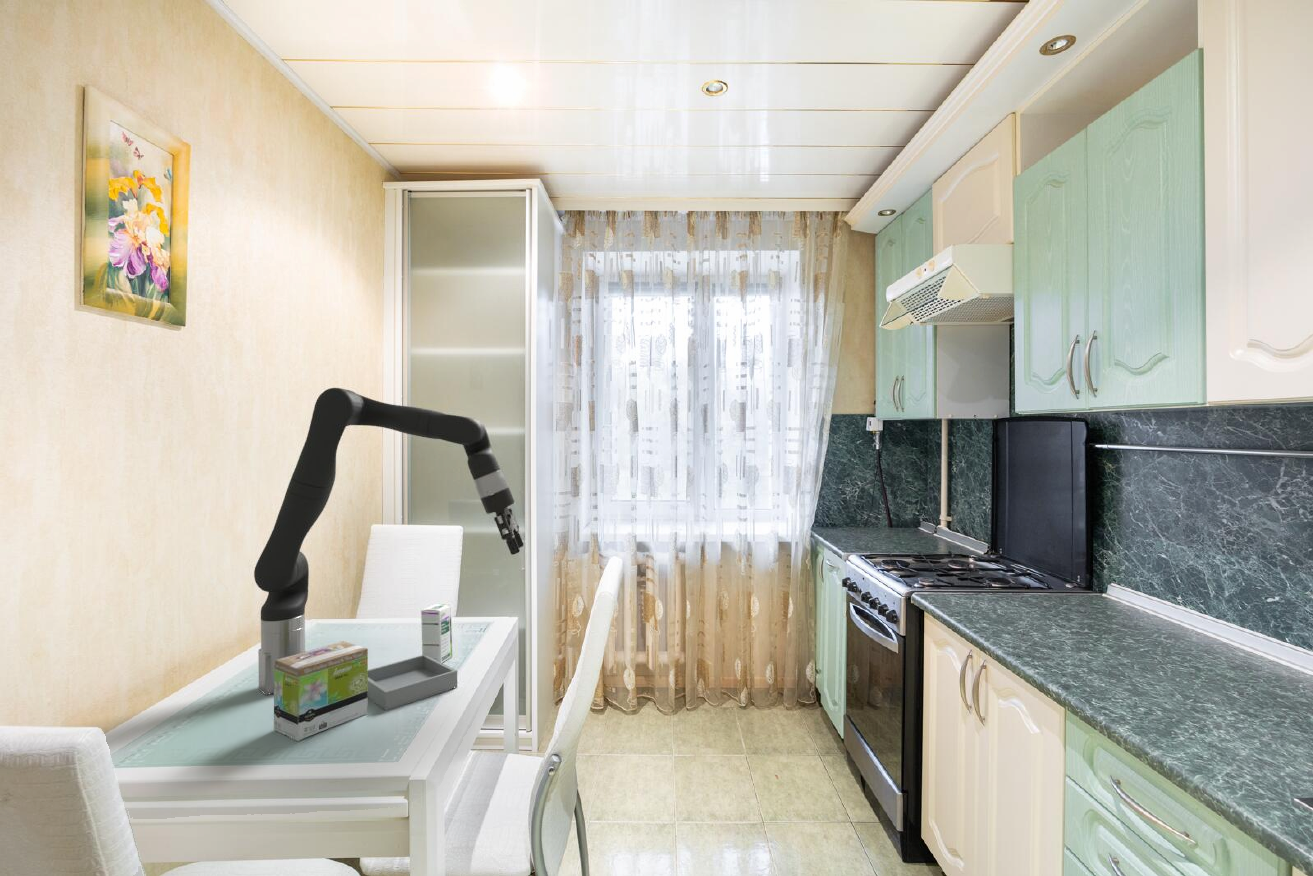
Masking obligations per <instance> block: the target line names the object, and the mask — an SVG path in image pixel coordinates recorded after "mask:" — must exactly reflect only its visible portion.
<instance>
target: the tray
mask: <svg viewBox="0 0 1313 876" xmlns="http://www.w3.org/2000/svg"><path fill="white" fill-rule="evenodd" d="M454 687H457V688H458V670H456V669H454V668H452V667H450V666H449V665H447V664H445V663H444V662H443V663H441V662H439V661H437V660H435V659H433V658H431V657H429V656H427V655H422V654H420V655H418V656H414V657H411V658H408V659H407V658H406V659H404V660H400V661H395V662H392V663H389V664H384V665H382V666H378V667H373V668H370V669H369V668H368V696H367V699H368V700H369V699H370V700H371V701H373V702H374V703H375V704H376V705H378V706H379V707H380V708H382V709H384V710H385V711H388V710H391V709H395V708H397V707H398V708H399V707H401V706H403V705H404V706H405V705H407V704H410V703H413V702H417V701H420V700H422V699H427V698H428V697H433V696H435V695H438V694H441V693H445V692H447V691H450V690H449V689H451V690H453V689H452V688H454ZM454 689H455V688H454ZM444 691H445V692H444Z"/></svg>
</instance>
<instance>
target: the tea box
mask: <svg viewBox="0 0 1313 876" xmlns="http://www.w3.org/2000/svg"><path fill="white" fill-rule="evenodd" d="M368 657H369V650H368V648H367V647H364V646H360V645H357V644H354V643H351V642H347V641H343V640H342V641H338V642H336V643H332V644H328V645H325V646H321V647H318V648H314V649H311V650H307V651H306V650H305V652H303V653H299V654H296V655H292V656H288V657H285V658H281V659H277V660H275V674H274V693H273V730H274V731H276V732H278V733H280V732H281V733H284V734H285V735H287V736H286V737H288V736H289V737H288V738H290V737H292V738H294V739H295V740H294V739H293V740H294V741H296V740H297V742H300V741H302V740H304V739H305V738H308V737H310V736H312V735H313V736H314V735H315V734H318V733H320V732H322V731H325V730H327V729H331V728H333V727H336V726H338V725H341V724H344V723H347V722H349V721H352V720H354V719H358V718H360V717H362V716H366V715H367V713H368V697H367V696H368V670H369V668H368V666H369V664H368V663H369V658H368ZM281 733H280V734H281ZM284 734H283V735H284ZM285 735H284V736H285ZM292 738H291V739H292Z"/></svg>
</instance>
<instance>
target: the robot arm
mask: <svg viewBox="0 0 1313 876" xmlns="http://www.w3.org/2000/svg"><path fill="white" fill-rule="evenodd" d="M349 426H367V427H368V426H369V427H370V426H371V427H377V428H378V427H379V428H385V429H388V430H393V431H396V432H400V433H402V434H407V435H411V436H416V437H421V438H427V439H431V440H441V441H445V442H450V443H453V444H458V445H462V447H463V449H464V452H465V454H466V456H467V465H468V470H469V471H470V474H471V477H472V480H474V481H473V482H474V485H475V488H476V489H475V490H476V491H477V494H478V496H479V498H480V501H481V505H482V507H483V509H484V511H485V513H486V514H487V515H490V514H492V513H495V515H496V516H495V517H493V518H494V521H495V524H496V527H497V529H498V531H499V533H500V537H501V539H502V541H504V542H505V543H506V545H507V547H508V550H509V552H510V554H511V555H512V556H513V555H516V554H518V553H520V552H521V549H520V548H522V547H524V541H523V539H522V537H521V534H520V526H519V524H518V523H517V522H518V521H517V520H516V518H515V515H514V513H513V509H512V508H508V507H509V506H513V505H514V504H515V498H514V497H513V494H512V492H511V489H510V487H509V484H508V483H507V482H508V481H507V479H506V478H505V475H504V474H503V472H502V470H501V467H500V465H499V463H498V461H497V458H496V456H495V454H494V452H493V449H492V444H491V440H490V438H489V435H488V432H487V429H486V427H485V425H484V424H483V422H482V421H481V420H479V419H477V418H474V417H470V416H469V417H468V416H464V415H462V416H460V415H455V414H447V413H443V412H441V411H436V410H432V409H427V408H422V407H421V408H420V407H415V406H406V405H400V404H392V403H391V404H390V403H386V402H381V401H379V400H375V399H371V398H370V397H366V396H363V395H362V394H358V393H357V392H355V391H353V390H349V389H345V388H340V387H331V388H327V389H325V390H324V391H323V392H322V393H320V394H319V395H318V398H316V401H315V403H314V408H313V411H312V416H311V419H310V425H309V427H308V429H309V430H308V431H307V436H306V438H305V442H304V444H303V447H302V450H301V451H300V455H299V456H298V460H297V462H296V465H295V468H294V470H293V472H292V475H291V478H290V480H289V483H288V486H287V489H286V491H285V493H284V498H283V500H282V503H281V506H280V509H279V512H278V514H277V517H276V520H275V522H274V526H273V529H272V531H271V533H270V535H269V538H268V540H267V542H266V544H265V546H264V548H263V550H262V552H261V554H260V556H259V558H258V560H257V561H256V564H255V567H254V572H253V576H254V582H255V583H256V585H257V587H258V588H259V589H260V590H261V591H264V592H267V598H266V600H265V601H264V603H263V604H262V606H261V607H260V648H259V649H258V689H259V688H260V689H261V690H262V691H263V692H264V693H265V694H268V695H270V694H269V693H273V694H274V674H275V660H277V659H281V658H285V657H288V656H292V655H296V654H299V653H303V652H306V614H305V613H306V612H305V611H306V604H307V602H308V597H309V581H310V578H309V577H310V576H309V575H310V571H309V570H310V569H309V561H308V559H307V557H306V555H305V554H304V553H303V552H302V551H301V548H302V546H303V542H304V540H305V538H306V536H307V535H308V533H309V532H310V530H311V529H312V528H313V526H314V524H315V523H316V522H317V520H318V519H319V517H320V516H321V515H322V512H323V511H324V509H325V507H326V505H327V503H328V501H329V499H330V496H331V493H332V490H333V488H334V484H335V482H336V475H337V474H336V472H337V451H338V446H339V444H340V441H341V439H342V436H343V433H344V432H345V429H346V427H349ZM260 689H259V690H260ZM261 690H260V691H261ZM262 691H261V692H262ZM263 692H262V693H263ZM264 693H263V694H264ZM265 694H264V695H265Z"/></svg>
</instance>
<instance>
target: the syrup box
mask: <svg viewBox="0 0 1313 876" xmlns="http://www.w3.org/2000/svg"><path fill="white" fill-rule="evenodd" d="M420 612H421V613H420V615H421V616H420V619H421V622H420V623H421V650H422V651H421V652H422V654H421V655H427V656H429V657H431V658H433V659H435V660H437V661H439V662H441V663H443V664H444V662H446V661H447V660H449V659H451V658H453V631H452V628H453V627H452V605H451V604H443V603H442V604H432V605H430V606H428V607H426V608H423V609H422V610H420Z"/></svg>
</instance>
